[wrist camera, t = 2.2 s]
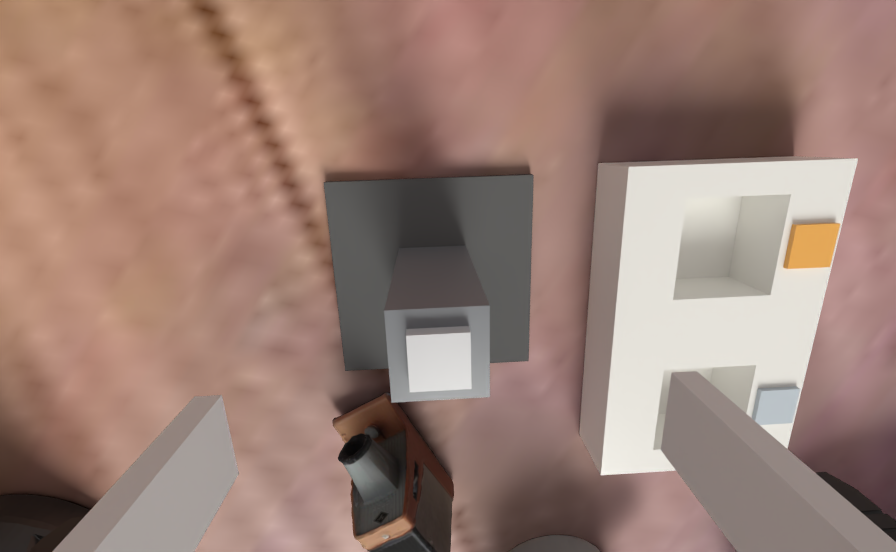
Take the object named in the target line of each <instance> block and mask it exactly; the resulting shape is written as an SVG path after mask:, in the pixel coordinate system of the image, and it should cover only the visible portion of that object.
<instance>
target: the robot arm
mask: <svg viewBox="0 0 896 552" xmlns="http://www.w3.org/2000/svg"><path fill="white" fill-rule="evenodd" d="M661 451H662V452H663V454H664V455H665V456H666V458H667V459H668V460H669V462H670V463H671V464H672V466H673V467H674V468H675V470H676V471H677V472H678V474H679V475H680V476H681V478H682V479H683V480H684V482H685V483H686V484H687V486H688V487H689V488H690V490H691V491H692V492H693V494H694V495H695V496H696V498H697V499H698V500H699V502H700V503H701V504H702V506H703V507H704V508H705V510H706V511H707V512H708V514H709V515H710V516H711V518H712V519H713V520H714V522H715V523H716V524H717V526H718V527H719V528H720V530H721V531H722V532H723V534H724V535H725V536H726V538H727V539H728V540H729V542H730V543H731V544H732V546H733V547H734V548H735V550H736V551H737V552H896V521H895V520H893V519H892V518H891V517H890V516H889V515H887V514H883V513H882V511H881V509H880V508H879V507H877V506H876V505H875V504H874V503H873V502H871V501H870V500H869V499H868V498H866V497H865V496H864V495H863V494H862V493H860V492H859V491H858V490H857V489H855V488H853V487H851V486H850V485H848V484H846V483H844V482H843V481H841V480H839V479H837V478H835V477H834V476H832V475H830V474H828V473H827V472H820V473H815V472H814V471H813V470H811V469H810V468H809V467H808V466H807V465H806V464H804V463H803V462H802V461H801V460H800V459H799V458H797V457H796V456H795V455H794V454H793V453H792V452H790V451H789V450H788V449H787V448H786V447H785V446H783V445H782V444H781V443H780V442H779V441H778V440H776V439H775V438H774V437H773V436H772V435H771V434H769V433H768V432H767V431H766V430H765V429H764V428H762V427H761V426H760V425H759V424H758V423H757V422H755V421H754V420H753V419H752V418H751V417H750V416H748V415H747V414H746V413H745V412H744V411H743V410H741V409H740V408H739V407H738V406H737V405H736V404H734V403H733V402H732V401H731V400H730V399H729V398H728V397H726V396H725V395H724V394H723V393H722V392H721V391H719V390H718V389H717V388H716V387H715V386H714V385H712V384H711V383H710V382H709V381H708V380H707V379H705V378H704V377H703V376H702V375H701V374H700V373H698V372H697V371H691V372H672V373H671V380H670V387H669V394H668V401H667V408H666V415H665V422H664V429H663V437H662V444H661ZM238 474H239V472H238V468H237V463H236V458H235V454H234V449H233V445H232V440H231V435H230V431H229V426H228V422H227V417H226V412H225V408H224V403H223V399H222V395H214V396H195V397H194V398H193V399H192V400H191V401H190V402H189V403H188V404H187V405H186V406H185V408H184V409H183V410H182V411H181V412H180V413H179V414H178V415H177V416H176V417H175V418H174V420H173V421H172V422H171V423H170V424H169V425H168V426H167V427H166V428H165V429H164V430H163V432H162V433H161V434H160V435H159V436H158V437H157V438H156V439H155V440H154V441H153V442H152V444H151V445H150V446H149V447H148V448H147V449H146V450H145V451H144V452H143V453H142V454H141V456H140V457H139V458H138V459H137V460H136V461H135V462H134V463H133V464H132V465H131V466H130V467H129V469H128V470H127V471H126V472H125V473H124V474H123V475H122V476H121V477H120V478H119V479H118V481H117V482H116V483H115V484H114V485H113V486H112V487H111V488H110V489H109V490H108V491H107V493H106V494H105V495H104V496H103V497H102V498H101V499H100V500H99V501H98V502H97V503H96V505H95V506H94V507H93V508H92V509H91V510H89V509H86V508H84V507H82V506H79V505H76V504H74V503H71V502H67V501H64V500H60V499H56V498H51V497H46V496H39V495H26V494H15V495H2V496H0V552H194V551H195V549H196V548H197V546H198V544H199V542H200V541H201V539H202V537H203V535H204V534H205V532H206V530H207V528H208V527H209V525H210V523H211V521H212V520H213V518H214V516H215V514H216V513H217V511H218V509H219V507H220V506H221V504H222V502H223V500H224V499H225V497H226V495H227V493H228V492H229V490H230V488H231V486H232V485H233V483H234V481H235V479H236V478H237V476H238Z"/></svg>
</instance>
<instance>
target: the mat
mask: <svg viewBox="0 0 896 552" xmlns="http://www.w3.org/2000/svg"><path fill="white" fill-rule="evenodd" d="M324 189H325V198H326V207H327V215H328V224H329V233H330V241H331V250H332V259H333V267H334V276H335V285H336V293H337V302H338V311H339V319H340V328H341V337H342V345H343V354H344V363H345V371H351V370H369V369H388V368H389V366H388V353H387V341H386V329H385V317H384V309H385V304H386V300H387V296H388V292H389V288H390V284H391V280H392V276H393V271H394V267H395V263H396V259H397V255H398V251H399V248H418V247H441V246H464V245H466V247H467V250H468V252H469V255H470V257H471V260H472V262H473V265H474V267H475V270H476V272H477V275H478V277H479V280H480V283H481V285H482V288H483V290H484V293H485V295H486V298H487V300H488V303H489V305H490V363H499V362H518V361H528V358H529V321H530V284H531V246H532V209H533V175H532V174H524V175H496V176H469V177H441V178H414V179H386V180H359V181H331V182H324Z"/></svg>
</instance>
